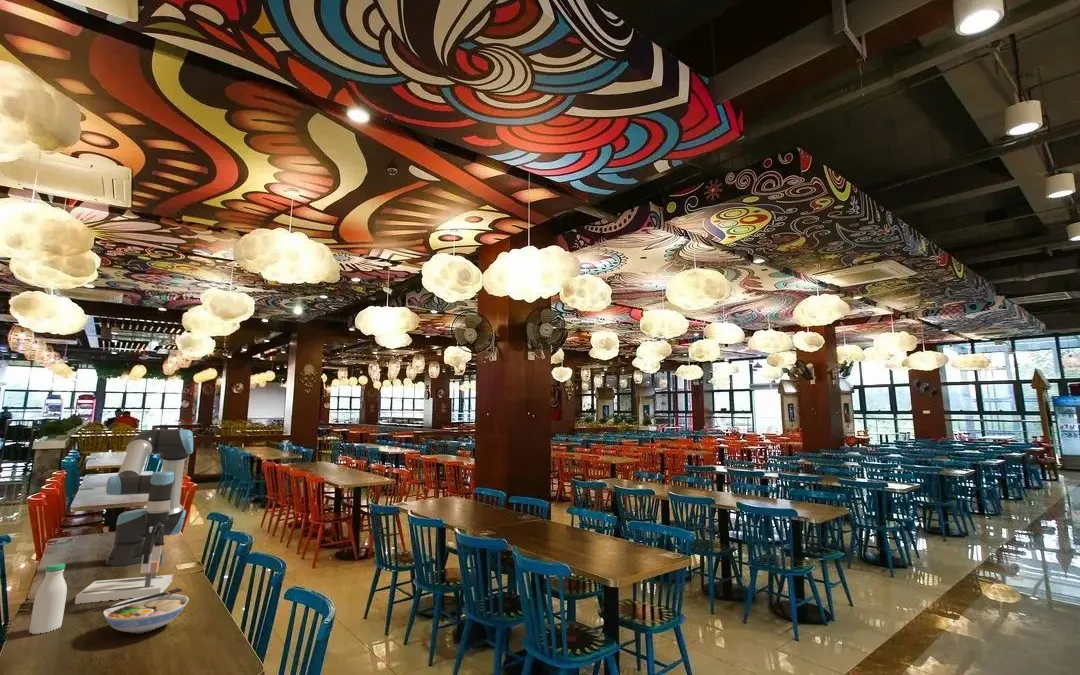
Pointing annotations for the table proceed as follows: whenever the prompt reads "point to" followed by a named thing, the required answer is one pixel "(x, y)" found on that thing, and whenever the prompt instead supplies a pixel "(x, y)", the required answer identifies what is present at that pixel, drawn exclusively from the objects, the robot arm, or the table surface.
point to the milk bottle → (49, 601)
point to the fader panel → (122, 589)
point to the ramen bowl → (145, 612)
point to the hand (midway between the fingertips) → (150, 567)
